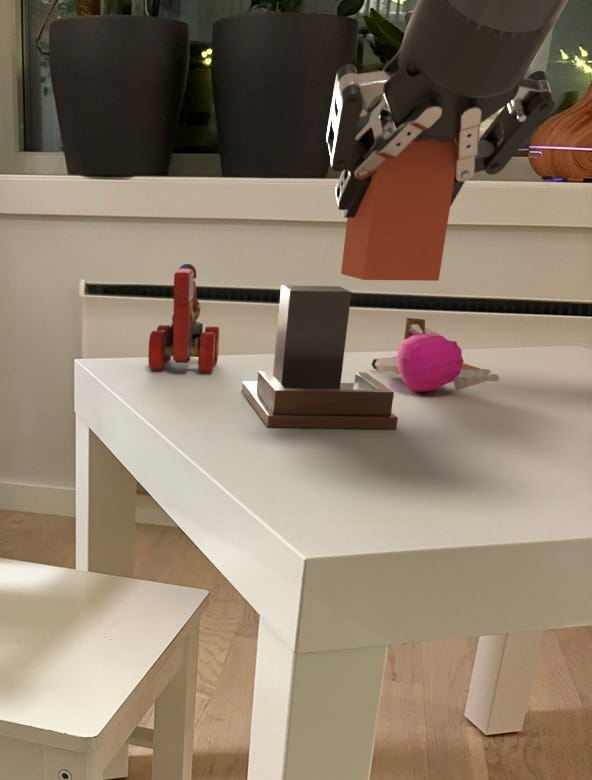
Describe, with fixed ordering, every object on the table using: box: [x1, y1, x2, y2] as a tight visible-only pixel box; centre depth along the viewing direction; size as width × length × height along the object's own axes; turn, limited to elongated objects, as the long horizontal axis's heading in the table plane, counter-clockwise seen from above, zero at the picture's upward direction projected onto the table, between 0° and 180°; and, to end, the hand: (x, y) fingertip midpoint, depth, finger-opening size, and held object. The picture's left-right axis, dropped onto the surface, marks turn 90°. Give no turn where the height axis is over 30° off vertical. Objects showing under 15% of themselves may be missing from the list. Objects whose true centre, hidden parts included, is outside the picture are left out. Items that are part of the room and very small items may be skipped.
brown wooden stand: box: [241, 284, 399, 430], centre depth 87 cm, size 15×11×10 cm
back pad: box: [340, 139, 456, 282], centre depth 67 cm, size 4×6×9 cm
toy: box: [370, 317, 500, 392], centre depth 99 cm, size 7×10×15 cm
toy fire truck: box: [147, 263, 220, 373], centre depth 105 cm, size 7×12×10 cm, turn 170°
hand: (387, 208), depth 69 cm, fingers closed on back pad, 5 cm apart
